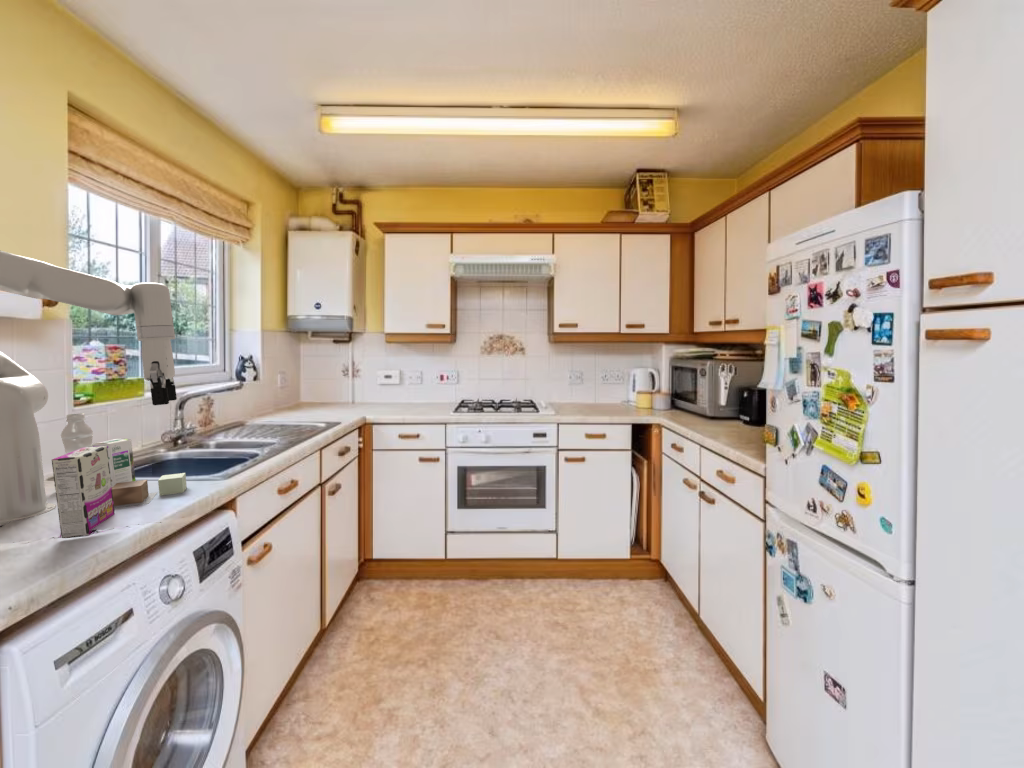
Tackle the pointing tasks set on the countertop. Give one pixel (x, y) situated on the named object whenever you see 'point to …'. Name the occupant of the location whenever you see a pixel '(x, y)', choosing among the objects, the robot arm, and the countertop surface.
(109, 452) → the syrup box
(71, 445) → the plastic bottle
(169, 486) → the sage cube
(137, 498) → the walnut block
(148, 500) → the plate
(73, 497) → the candy bar box
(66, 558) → the countertop surface
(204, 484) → the countertop surface
